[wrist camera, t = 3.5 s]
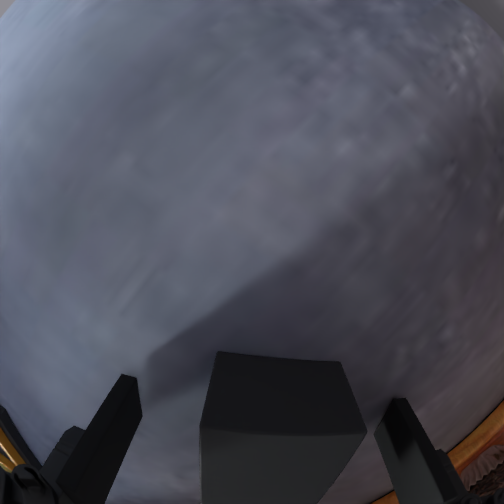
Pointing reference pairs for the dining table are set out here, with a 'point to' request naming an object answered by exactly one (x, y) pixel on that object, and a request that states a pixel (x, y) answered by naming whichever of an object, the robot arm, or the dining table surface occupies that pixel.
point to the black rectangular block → (275, 430)
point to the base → (13, 445)
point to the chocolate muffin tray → (477, 458)
